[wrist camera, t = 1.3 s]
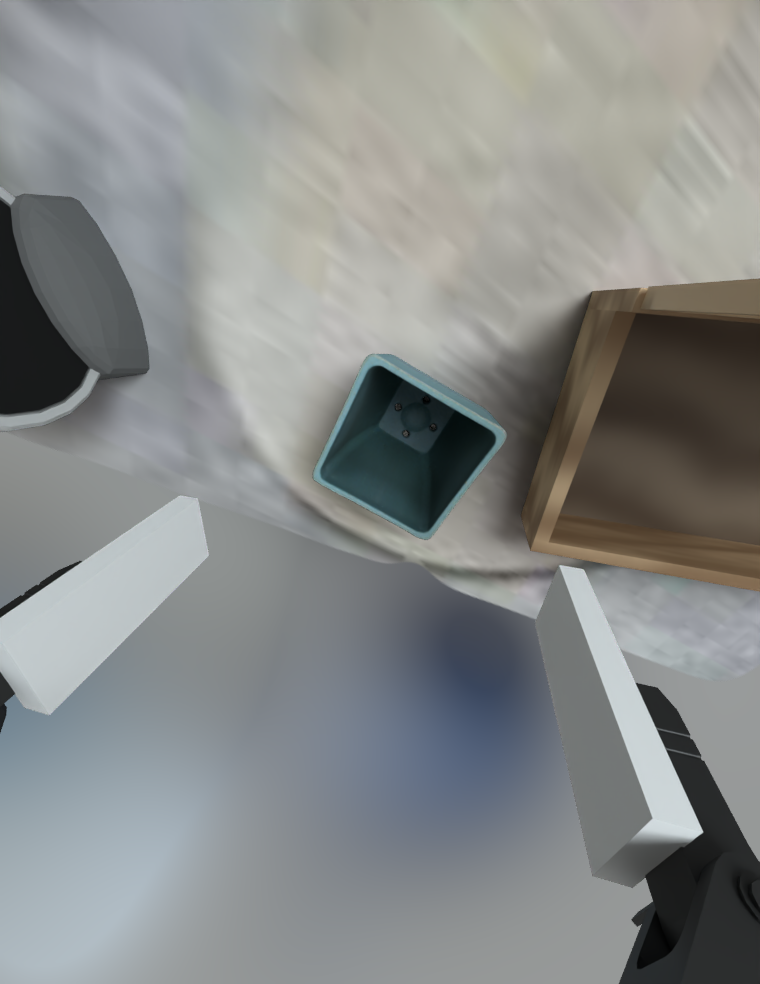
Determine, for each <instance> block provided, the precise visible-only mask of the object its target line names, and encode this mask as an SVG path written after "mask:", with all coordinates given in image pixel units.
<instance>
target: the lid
mask: <svg viewBox="0 0 760 984" xmlns="http://www.w3.org/2000/svg"><path fill="white" fill-rule="evenodd" d="M640 309H647V310H659V311H671V312H683V313H695V314H707V315H719V316H731V317H743V318H755V319H760V279H748V280H734V281H721V282H707V283H693V284H680V285H666V286H652V287H648V290H647V293H646V295H645V298H644V300H643V303H642V305H641V308H640Z"/></svg>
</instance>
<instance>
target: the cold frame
mask: <svg viewBox="0 0 760 984" xmlns="http://www.w3.org/2000/svg"><path fill="white" fill-rule="evenodd" d="M647 290H648V288H632V289H617V290H603V291H593V292H592V295H591V298H590V301H589V304H588V308H587V311H586V314H585V317H584V320H583V323H582V326H581V329H580V333H579V336H578V339H577V342H576V345H575V348H574V351H573V354H572V357H571V361H570V364H569V367H568V370H567V373H566V376H565V379H564V382H563V386H562V389H561V392H560V395H559V398H558V401H557V404H556V407H555V410H554V414H553V417H552V420H551V423H550V426H549V429H548V432H547V435H546V439H545V442H544V445H543V448H542V451H541V454H540V457H539V460H538V463H537V467H536V470H535V473H534V476H533V479H532V482H531V485H530V488H529V492H528V495H527V498H526V501H525V504H524V507H523V510H522V513H521V518H522V522H523V525H524V529H525V533H526V536H527V540H528V544H529V547H530V551H536V552H541V553H547V554H553V555H558V556H564V557H569V558H575V559H581V560H586V561H592V562H597V563H603V564H609V565H614V566H620V567H625V568H631V569H637V570H642V571H648V572H654V573H659V574H665V575H670V576H676V577H682V578H687V579H693V580H698V581H704V582H710V583H715V584H721V585H726V586H732V587H738V588H743V589H749V590H754V591H760V319H755V318H743V317H731V316H719V315H707V314H695V313H683V312H671V311H659V310H647V309H640V308H641V305H642V303H643V300H644V298H645V295H646V293H647Z"/></svg>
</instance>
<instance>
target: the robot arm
mask: <svg viewBox="0 0 760 984" xmlns="http://www.w3.org/2000/svg"><path fill="white" fill-rule="evenodd" d="M208 556H209V553H208V547H207V542H206V537H205V532H204V527H203V522H202V517H201V512H200V507H199V502H198V499H197V498H192V497H186V496H181V495H179V496H178V497H177V498H175V499H174V500H172V501H171V502H170V503H168V504H166V505H165V506H164V507H162V508H160V509H159V510H158V511H156V512H155V513H153V514H152V515H150V516H149V517H147V518H146V519H144V520H143V521H141V522H140V523H139V524H137V525H136V526H134V527H133V528H131V529H130V530H129V531H127V532H125V533H124V534H122V535H121V536H119V537H118V538H116V539H115V540H114V541H112V542H111V543H109V544H108V545H106V546H105V547H104V548H102V549H100V550H99V551H97V552H96V553H95V554H93V555H92V556H90V557H89V558H87V559H86V560H84V561H79V562H77V563H74V564H72V565H69V566H67V567H65V568H63V569H61V570H58V571H57V572H55V573H54V574H53V575H51V576H49V577H48V578H46V579H45V580H43V581H42V582H40V584H39V585H36V586H34V587H33V588H31V589H30V590H28V591H27V592H25V594H24V595H23V596H19V597H17V598H16V599H14V600H13V601H11V602H10V603H8V604H7V605H6V606H4V607H2V608H1V609H0V732H1V729H2V726H3V723H4V720H5V717H6V709H7V707H6V706H5V704H4V703H5V702H6V701H7V700H8V699H10V698H11V697H12V696H13V695H14V694H15V695H16V696H17V698H18V699H19V701H20V702H21V703H22V705H23V706H24V708H27V709H30V710H34V711H37V712H41V713H44V714H47V715H50V714H51V713H52V712H53V711H54V710H55V709H56V708H57V707H58V706H59V705H60V704H61V703H62V702H63V701H64V700H65V699H66V698H67V697H68V696H69V695H70V694H71V693H72V692H73V691H74V690H75V689H76V688H77V687H78V686H79V685H80V684H81V683H82V682H83V681H84V680H85V679H86V678H87V677H88V676H89V675H90V674H91V673H92V672H93V671H94V670H95V669H96V668H97V667H98V666H99V665H100V664H101V663H102V662H103V661H104V660H105V659H106V658H107V657H108V656H109V655H110V654H111V653H112V652H113V651H114V650H115V649H116V648H117V647H118V646H119V645H120V644H121V643H122V642H123V641H124V640H125V639H126V638H127V637H128V636H129V635H130V634H131V633H132V632H133V631H134V630H135V629H136V628H137V627H138V626H139V625H140V624H141V623H142V622H143V621H144V620H145V619H146V618H147V617H148V616H149V615H150V614H151V613H152V612H153V611H154V610H155V609H156V608H157V607H158V606H159V605H160V604H161V603H162V602H163V601H164V600H165V599H166V598H167V597H168V596H169V595H170V594H171V593H172V592H173V591H174V590H175V589H176V588H177V587H178V586H179V585H180V584H181V583H182V582H183V581H184V580H185V579H186V578H187V577H188V576H189V575H190V574H191V573H192V572H193V571H194V570H195V569H196V568H197V567H198V566H199V565H200V564H201V563H202V562H203V561H204V560H205V559H206V558H207V557H208ZM535 626H536V630H537V634H538V639H539V643H540V648H541V652H542V656H543V661H544V665H545V670H546V674H547V679H548V683H549V687H550V692H551V696H552V701H553V705H554V709H555V714H556V718H557V722H558V726H559V731H560V736H561V740H562V745H563V749H564V753H565V757H566V762H567V767H568V771H569V775H570V780H571V784H572V788H573V793H574V797H575V802H576V806H577V811H578V815H579V819H580V824H581V828H582V833H583V837H584V841H585V846H586V850H587V855H588V859H589V864H590V868H591V872H592V876H594V877H598V878H601V879H604V880H608V881H611V882H615V883H618V884H621V885H625V886H628V887H631V888H633V887H634V886H635V885H636V884H638V883H639V882H641V881H642V880H643V879H644V878H646V880H647V883H648V886H649V889H650V892H651V896H652V899H653V902H652V903H650V904H649V905H648V906H646V907H645V908H643V909H642V910H640V911H639V912H638V913H637V914H636V915H635V916H634V917H633V919H632V921H633V922H634V924H636V926H639V925H641V924H642V925H641V928H640V930H639V933H638V936H637V938H636V941H635V943H634V946H633V948H632V951H631V954H630V956H629V959H628V961H627V964H626V967H625V969H624V972H623V974H622V977H621V980H620V983H619V984H760V862H759V861H758V860H757V858H756V856H755V855H754V853H753V852H752V850H751V848H750V847H749V845H748V843H747V841H746V839H745V838H744V836H743V834H742V832H741V830H740V828H739V826H738V824H737V822H736V821H735V819H734V817H733V815H732V813H731V811H730V809H729V808H728V805H727V803H726V802H725V800H724V798H723V796H722V794H721V792H720V790H719V788H718V786H717V785H716V783H715V781H714V779H713V777H712V775H711V773H710V771H709V769H708V767H707V766H706V764H705V762H704V761H702V760H701V754H700V752H699V750H698V749H697V747H696V745H695V743H694V741H693V740H692V739H690V733H689V731H688V730H687V728H686V726H685V724H684V722H683V721H682V718H681V716H680V715H679V713H678V711H677V709H676V708H675V707H674V706H673V705H672V704H671V703H670V701H669V700H668V699H667V698H666V697H665V696H664V695H663V694H662V692H661V691H660V690H659V689H658V688H656V687H652V686H647V685H642V684H638V683H635V681H634V679H633V677H632V675H631V673H630V670H629V668H628V666H627V664H626V661H625V659H624V657H623V655H622V653H621V650H620V648H619V646H618V644H617V642H616V639H615V637H614V635H613V633H612V631H611V628H610V626H609V624H608V622H607V620H606V617H605V615H604V613H603V611H602V609H601V606H600V604H599V602H598V600H597V598H596V595H595V593H594V591H593V589H592V587H591V584H590V582H589V580H588V578H587V576H586V573H585V571H584V569H579V568H573V567H568V566H562V565H559V566H558V569H557V571H556V573H555V576H554V578H553V581H552V583H551V586H550V588H549V590H548V593H547V595H546V598H545V600H544V602H543V605H542V607H541V610H540V612H539V614H538V617H537V619H536V622H535Z"/></svg>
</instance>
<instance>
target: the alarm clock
mask: <svg viewBox="0 0 760 984" xmlns="http://www.w3.org/2000/svg"><path fill="white" fill-rule="evenodd" d="M148 370H149V354H148V346H147V342H146V337H145V332H144V328H143V323H142V319H141V316H140V313H139V310H138V307H137V304H136V301H135V298H134V295H133V292H132V289H131V287H130V285H129V283H128V281H127V279H126V277H125V275H124V272H123V270H122V268H121V266H120V264H119V262H118V260H117V258H116V256H115V254H114V252H113V251H112V249H111V247H110V246H109V244H108V242H107V240H106V239H105V237H104V235H103V234H102V232H101V230H100V229H99V227H98V225H97V224H96V222H95V221H94V220H93V218H92V217H91V216H90V214H89V213H88V212H87V210H86V209H85V208H84V206H83V205H82V204H81V203H80V201H78V200H76V199H74V198H72V197H61V196H47V195H33V194H23V195H20V196H17V197H14V196H13V195H11V194H10V193H9V192H8V191H6V190H5V189H4V188H2V187H1V186H0V432H4V431H12V430H18V429H24V428H30V427H37V426H43V425H46V424H48V423H51V422H53V421H55V420H57V419H59V418H62V417H64V416H66V415H68V414H70V413H72V412H73V411H74V410H75V409H76V408H77V407H78V406H79V405H80V404H81V403H83V402H84V401H85V400H86V399H87V398H88V397H89V396H90V394H91V392H92V390H93V388H94V386H95V385H96V383H97V381H98V380H102V379H109V378H116V377H123V376H129V375H136V374H143V373H147V371H148Z"/></svg>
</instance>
